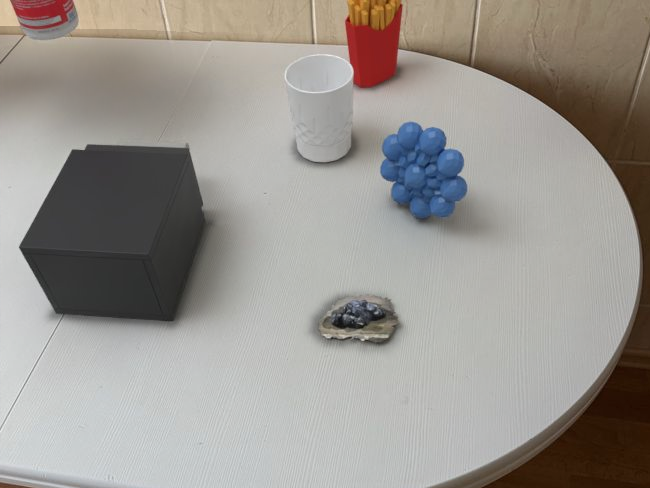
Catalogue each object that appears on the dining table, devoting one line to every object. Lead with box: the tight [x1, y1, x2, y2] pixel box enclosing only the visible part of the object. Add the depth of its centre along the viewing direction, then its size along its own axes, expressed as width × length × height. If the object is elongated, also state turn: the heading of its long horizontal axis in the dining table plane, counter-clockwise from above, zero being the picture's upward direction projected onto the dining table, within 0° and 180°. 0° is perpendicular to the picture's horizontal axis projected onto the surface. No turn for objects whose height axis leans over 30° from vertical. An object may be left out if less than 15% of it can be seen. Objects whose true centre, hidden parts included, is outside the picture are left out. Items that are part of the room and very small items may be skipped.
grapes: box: [379, 121, 468, 219], centre depth 75 cm, size 12×7×12 cm, turn 43°
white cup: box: [283, 53, 354, 163], centre depth 84 cm, size 8×8×10 cm
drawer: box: [84, 139, 204, 207], centre depth 76 cm, size 18×11×8 cm, turn 173°
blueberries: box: [317, 294, 400, 344], centre depth 69 cm, size 7×8×2 cm
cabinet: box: [18, 148, 207, 322], centre depth 73 cm, size 15×13×10 cm
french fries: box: [344, 0, 404, 88], centre depth 92 cm, size 8×4×12 cm, turn 128°
